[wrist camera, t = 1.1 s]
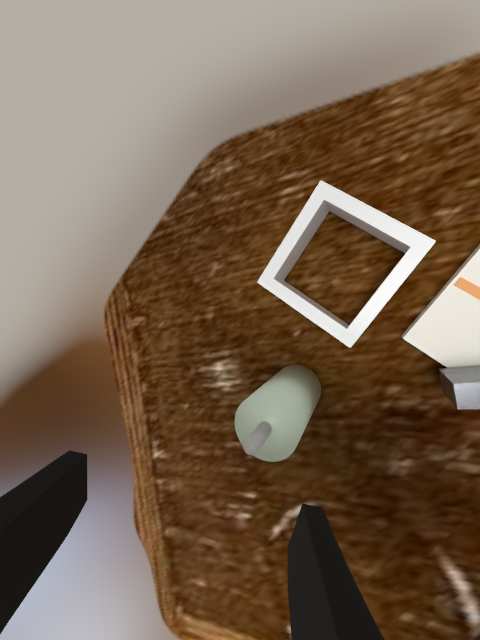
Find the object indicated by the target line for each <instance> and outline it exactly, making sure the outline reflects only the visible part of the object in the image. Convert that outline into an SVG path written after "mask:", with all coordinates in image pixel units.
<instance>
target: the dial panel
mask: <svg viewBox="0 0 480 640" xmlns="http://www.w3.org/2000/svg"><path fill="white" fill-rule="evenodd" d="M401 337H402V338H403V339H404V340H406V341H407V342H409V343H410V344H412V345H413V346H415V347H416V348H418V349H419V350H421V351H423V352H424V353H426V354H427V355H429V356H430V357H432V358H433V359H435V360H436V361H438V362H439V363H441V364H442V365H444V366H445V367H447V368H457V367H471V366H480V244H479V246H478V247H477V248H476V249H475V250H474V251H473V253H472V254H471V255H470V256H469V257H468V258H467V260H466V261H465V262H464V263H463V264H462V265H461V267H460V268H459V269H458V270H457V271H456V272H455V274H454V275H453V276H452V277H451V278H450V279H449V281H448V282H447V283H446V284H445V285H444V286H443V288H442V289H441V290H440V291H439V292H438V293H437V295H436V296H435V297H434V298H433V299H432V300H431V302H430V303H429V304H428V305H427V306H426V307H425V309H424V310H423V311H422V312H421V313H420V314H419V316H418V317H417V318H416V319H415V320H414V321H413V323H412V324H411V325H410V326H409V327H408V328H407V330H406V331H405V332H404V333H403V334H402V335H401Z"/></svg>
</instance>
